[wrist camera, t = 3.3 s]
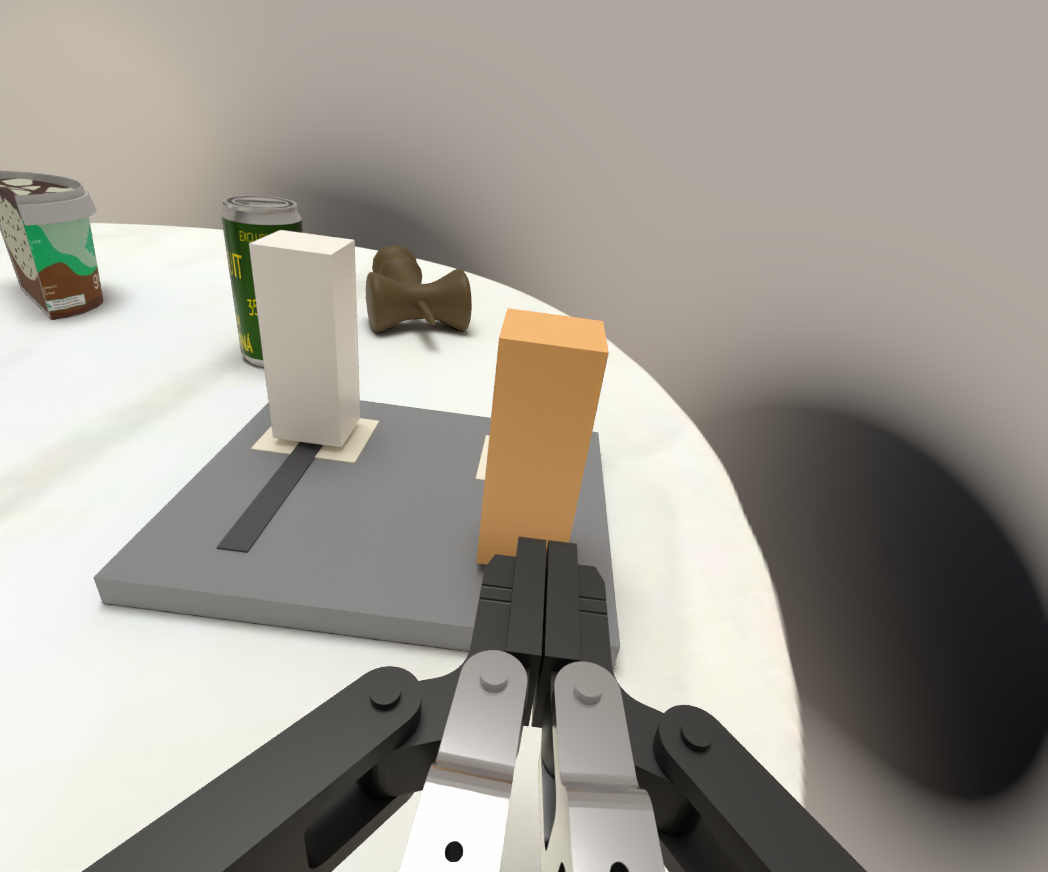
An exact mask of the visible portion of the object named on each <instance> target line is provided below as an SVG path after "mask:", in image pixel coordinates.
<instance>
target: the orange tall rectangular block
mask: <svg viewBox="0 0 1048 872" xmlns="http://www.w3.org/2000/svg"><path fill="white" fill-rule="evenodd" d="M607 358H608V347H607V341H606V336H605V330H604V324H603V321H597V320H590V319H582V318H575V317H568V316H561V315H553V314H546V313H538V312H531V311H524V310H516V309H509V308H508V309H507V312H506V316H505V319H504V323H503V326H502V330H501V333H500V337H499V345H498V355H497V365H496V375H495V385H494V394H493V404H492V414H491V424H490V434H489V444H488V454H487V463H486V473H485V483H484V493H483V503H482V513H481V523H480V533H479V542H478V552H477V562H476V563H479V564H486V565H487V564H488V563H489V561H490V560H491V559H492V558H493V557H494V555H495V554H499V555H507V556H515V557H516V551H517V544H518V537H519V536H520V537H528V538H536V539H544V540H546V550H547V544H548V540H553V541H561V542H569V541H570V536H571V531H572V526H573V522H574V517H575V512H576V507H577V502H578V497H579V493H580V488H581V483H582V478H583V473H584V469H585V464H586V459H587V454H588V449H589V445H590V440H591V435H592V430H593V425H594V420H595V416H596V411H597V406H598V401H599V396H600V392H601V387H602V382H603V377H604V372H605V367H606V363H607Z"/></svg>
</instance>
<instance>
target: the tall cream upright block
mask: <svg viewBox="0 0 1048 872" xmlns="http://www.w3.org/2000/svg"><path fill="white" fill-rule="evenodd" d="M249 248H250V256H251V264H252V272H253V280H254V288H255V296H256V304H257V312H258V321H259V329H260V337H261V345H262V353H263V361H264V369H265V377H266V385H267V393H268V401H269V409H270V417H271V425H272V433H273V438H276V439H284V440H291V441H299V442H306V443H314V444H321V445H329V446H336V447H342V446H343V444H344V443H345V441H346V440H347V438H348V437H349V435H350V433H351V432H352V430H353V429H354V427H355V426H356V424H357V423H358V421H359V420H360V395H359V365H358V334H357V303H356V272H355V243H354V240H350V239H342V238H335V237H328V236H320V235H312V234H305V233H299V232H291V231H284V230H279V231H277V232H275V233H272V234H270V235H268V236H265V237H263V238H261V239H258V240H256V241H254V242H252V243H249Z"/></svg>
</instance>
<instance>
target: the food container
mask: <svg viewBox="0 0 1048 872" xmlns="http://www.w3.org/2000/svg"><path fill="white" fill-rule="evenodd" d="M96 211H97V210H96V207H95V205H94V203H93V201H92V199H91V197H90V195H89V193H88V191H86V190H85V189H83V186H82V184H81V183H80V182H79V181H77V180H74V179H70V178H66V177H61V176H55V175H48V174H41V173H31V172H18V171H0V231H1V233H2V236H3V239H4V242H5V245H6V248H7V250H8V253H9V256H10V259H11V262H12V265H13V267H14V270H15V273H16V276H17V279H18V282H19V284H20V287H21V290H22V291H23V292H24V293H25V294H26V295H27V296H28V297H29V298H30V299H31V300H32V301H33V302H34V303H35V304H36V305H37V306H38V307H39V308H40V309H41V310H42V311H43V312H44V313H45V314H46V315H47V316H48V317H49V318H50V319H51V320H54V319H60V318H66V317H70V316H74V315H78V314H82V313H85V312H88V311H90V310H92V309H95V308H97V307H98V306H99V305H100V304H101V303H102V302H103V296H102V290H101V284H100V279H99V273H98V267H97V261H96V256H95V250H94V244H93V238H92V233H91V227H90V221H89V216H91V215H93V214H94V213H96Z"/></svg>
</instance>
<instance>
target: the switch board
mask: <svg viewBox="0 0 1048 872" xmlns="http://www.w3.org/2000/svg"><path fill="white" fill-rule="evenodd" d="M490 424H491V418H487V417H480V416H472V415H465V414H457V413H450V412H442V411H435V410H427V409H420V408H413V407H405V406H398V405H390V404H383V403H375V402H368V401H360V420H359V421H358V423H357V424H356V426H355V427H354V429H353V430H352V432H351V433H350V435H349V437H348V438H347V440H346V441H345V443H344V444H343V446H342V447H336V446H329V445H321V444H314V443H306V442H299V441H291V440H284V439H276V438H273V433H272V425H271V417H270V409H269V403H268V404H267V405H266V406H265V407H264V408H263V409H262V410H261V411H260V412H259V413H258V414H257V415H256V416H255V417H254V418H253V419H252V420H251V421H250V422H249V423H248V424H247V425H246V426H245V427H244V428H243V429H242V430H241V431H240V432H239V433H238V434H237V435H236V436H235V437H234V438H233V439H232V440H231V441H230V442H229V443H228V444H227V445H226V446H225V447H224V448H223V449H222V450H221V451H220V452H219V453H218V454H217V455H216V456H215V457H214V458H213V459H212V460H211V461H210V462H209V463H208V464H207V465H206V466H205V467H204V468H203V469H202V470H201V471H200V472H199V473H198V474H197V475H196V476H195V477H194V478H193V479H192V480H191V481H190V482H189V483H188V484H187V485H186V486H185V487H184V488H183V489H182V490H181V491H180V492H179V493H178V494H177V495H176V496H175V497H174V498H173V499H172V500H171V501H170V502H169V503H168V504H167V505H166V506H165V507H164V508H163V509H162V510H161V511H160V512H159V513H158V514H157V515H156V516H155V517H153V518H152V519H151V520H150V521H149V522H148V523H147V524H146V525H145V526H144V527H143V528H142V529H141V530H140V531H139V532H138V533H137V534H136V535H135V536H134V537H133V538H132V539H131V540H130V541H129V542H128V543H127V544H126V545H125V546H124V547H123V548H122V549H121V550H120V551H119V552H118V553H117V554H116V555H115V556H114V557H113V558H112V559H111V560H110V561H109V562H108V563H107V564H106V565H105V566H104V567H103V568H102V569H101V570H100V571H99V572H98V573H97V574H96V575H95V576H94V580H95V583H96V586H97V588H98V591H99V594H100V597H101V599H102V602H103V603H106V604H114V605H122V606H129V607H137V608H144V609H152V610H160V611H167V612H175V613H182V614H190V615H197V616H205V617H213V618H220V619H228V620H235V621H243V622H250V623H258V624H266V625H273V626H281V627H288V628H296V629H304V630H311V631H319V632H326V633H334V634H341V635H349V636H357V637H364V638H372V639H379V640H387V641H394V642H402V643H410V644H417V645H425V646H432V647H440V648H448V649H455V650H463V651H470V646H471V641H472V635H473V630H474V624H475V618H476V613H477V607H478V602H479V596H480V591H481V586H482V579H483V574H484V568H485V566H486V564H479V563H476V562H477V552H478V542H479V533H480V523H481V513H482V503H483V493H484V483H485V473H486V463H487V454H488V444H489V434H490ZM569 543H576V544H577V555H578V564H579V565H587V566H595V567H596V568H597V570H598V572H599V573H600V575H601V577H602V578H603V580H604V582H605V589H606V603H607V612H608V614H607V617H608V624H609V636H610V647H611V659H612V669H613V668H614V665H615V662H616V658H617V655H618V652H619V649H620V642H619V632H618V623H617V613H616V603H615V593H614V583H613V573H612V564H611V554H610V544H609V534H608V524H607V514H606V505H605V495H604V485H603V475H602V465H601V455H600V446H599V436H598V432H592V435H591V440H590V445H589V449H588V454H587V459H586V464H585V469H584V473H583V478H582V483H581V488H580V493H579V497H578V502H577V507H576V512H575V517H574V522H573V526H572V531H571V536H570V541H569Z"/></svg>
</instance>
